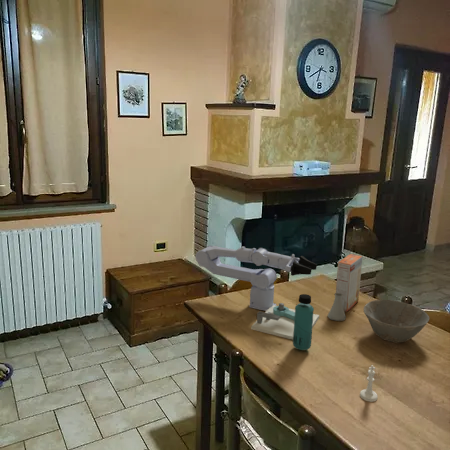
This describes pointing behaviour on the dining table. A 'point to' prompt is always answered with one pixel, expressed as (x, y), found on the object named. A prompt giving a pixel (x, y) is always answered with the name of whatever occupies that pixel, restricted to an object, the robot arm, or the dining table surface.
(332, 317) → the flask
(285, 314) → the link
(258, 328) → the board
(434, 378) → the dining table surface
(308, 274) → the robot arm
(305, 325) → the beverage bottle
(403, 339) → the ceramic bowl
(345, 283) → the cracker box
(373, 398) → the chess piece
